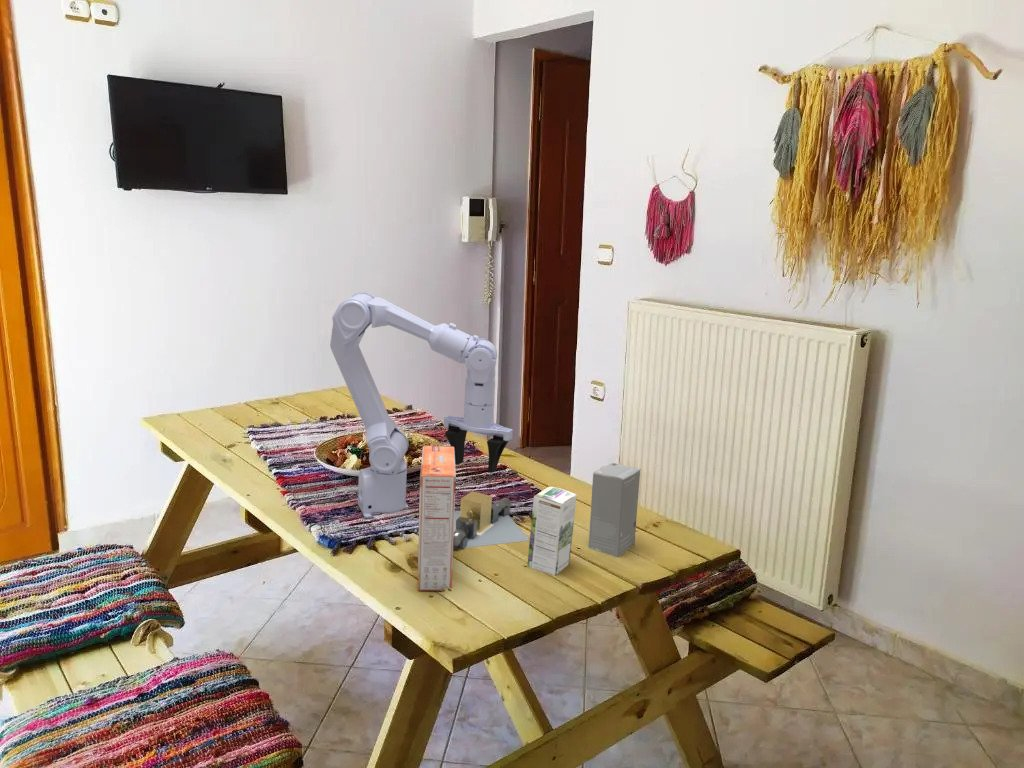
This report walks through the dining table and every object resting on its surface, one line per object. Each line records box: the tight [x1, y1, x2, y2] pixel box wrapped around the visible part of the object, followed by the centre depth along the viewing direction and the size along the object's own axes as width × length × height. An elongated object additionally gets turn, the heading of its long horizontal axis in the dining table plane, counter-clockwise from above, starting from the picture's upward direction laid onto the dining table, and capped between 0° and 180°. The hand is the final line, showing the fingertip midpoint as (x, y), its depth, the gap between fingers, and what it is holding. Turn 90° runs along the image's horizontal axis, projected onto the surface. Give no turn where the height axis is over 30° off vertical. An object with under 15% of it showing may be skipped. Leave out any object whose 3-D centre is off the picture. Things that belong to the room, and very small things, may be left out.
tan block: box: [459, 490, 493, 533], centre depth 155 cm, size 5×4×6 cm
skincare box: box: [588, 462, 641, 558], centre depth 150 cm, size 8×7×16 cm
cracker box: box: [417, 445, 457, 592], centre depth 136 cm, size 14×6×21 cm, turn 5°
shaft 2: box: [490, 497, 512, 524], centre depth 161 cm, size 7×4×3 cm, turn 146°
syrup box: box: [526, 486, 578, 576], centre depth 141 cm, size 6×6×14 cm
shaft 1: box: [453, 517, 477, 550], centre depth 148 cm, size 7×4×3 cm, turn 161°
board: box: [453, 510, 530, 550], centre depth 156 cm, size 16×16×1 cm
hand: (475, 467), depth 160 cm, fingers open, 7 cm apart
